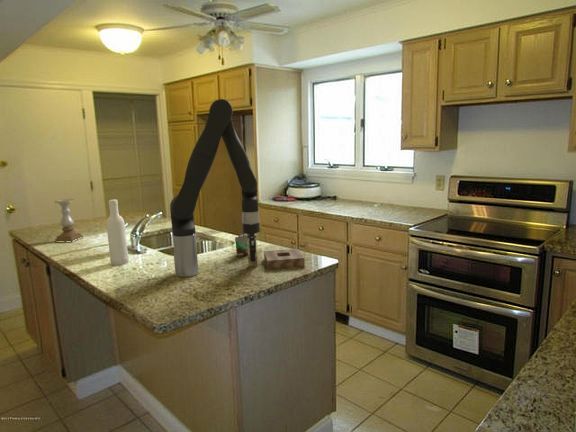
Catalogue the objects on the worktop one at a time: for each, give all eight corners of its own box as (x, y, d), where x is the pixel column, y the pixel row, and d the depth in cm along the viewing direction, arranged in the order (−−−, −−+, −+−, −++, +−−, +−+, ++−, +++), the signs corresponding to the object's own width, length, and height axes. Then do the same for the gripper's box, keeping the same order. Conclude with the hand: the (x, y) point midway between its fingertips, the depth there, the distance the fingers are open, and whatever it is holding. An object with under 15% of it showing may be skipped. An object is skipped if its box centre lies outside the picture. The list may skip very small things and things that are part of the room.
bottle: (107, 263, 194) (100, 200, 188) (124, 259, 200) (117, 198, 194) (115, 266, 189) (108, 201, 183) (131, 262, 194) (125, 199, 189)
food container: (248, 258, 196) (247, 237, 194) (235, 257, 197) (234, 237, 195) (255, 251, 208) (254, 231, 206) (243, 250, 209) (242, 231, 207)
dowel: (248, 268, 180) (247, 241, 178) (248, 265, 184) (246, 239, 182) (258, 267, 181) (256, 241, 178) (257, 264, 185) (256, 238, 183)
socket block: (267, 269, 177) (267, 260, 177) (264, 259, 193) (264, 251, 192) (304, 266, 180) (304, 258, 179) (298, 256, 195) (297, 248, 195)
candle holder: (67, 237, 251) (61, 198, 246) (83, 238, 249) (78, 198, 245) (54, 242, 240) (49, 201, 236) (71, 242, 238) (66, 201, 234)
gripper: (241, 219, 185) (243, 255, 188) (242, 225, 171) (244, 265, 174) (258, 218, 186) (259, 254, 189) (260, 224, 172) (262, 263, 175)
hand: (252, 259), depth 182 cm, fingers closed on dowel, 4 cm apart
